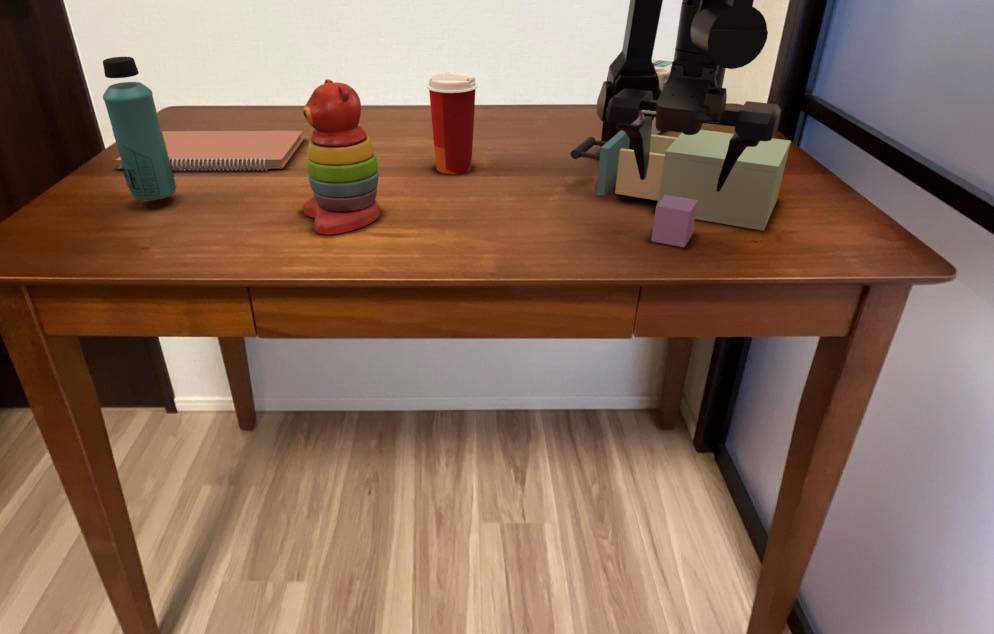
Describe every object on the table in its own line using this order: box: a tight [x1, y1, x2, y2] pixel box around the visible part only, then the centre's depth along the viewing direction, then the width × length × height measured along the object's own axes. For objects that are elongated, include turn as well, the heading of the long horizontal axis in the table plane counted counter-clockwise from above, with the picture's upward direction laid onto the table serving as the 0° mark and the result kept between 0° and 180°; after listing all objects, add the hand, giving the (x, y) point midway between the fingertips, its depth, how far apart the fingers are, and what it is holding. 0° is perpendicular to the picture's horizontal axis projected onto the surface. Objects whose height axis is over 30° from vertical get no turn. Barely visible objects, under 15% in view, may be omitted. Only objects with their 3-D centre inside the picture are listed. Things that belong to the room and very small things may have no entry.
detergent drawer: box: [570, 130, 678, 202], centre depth 102 cm, size 18×10×7 cm, turn 62°
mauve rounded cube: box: [650, 195, 698, 248], centre depth 90 cm, size 4×4×5 cm
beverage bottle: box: [102, 56, 178, 202], centre depth 99 cm, size 6×7×20 cm
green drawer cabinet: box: [657, 129, 792, 232], centre depth 98 cm, size 14×12×9 cm
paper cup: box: [426, 72, 479, 175], centre depth 111 cm, size 8×8×14 cm
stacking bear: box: [302, 78, 381, 235], centre depth 94 cm, size 11×10×18 cm
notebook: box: [114, 130, 305, 172], centre depth 122 cm, size 27×17×2 cm, turn 88°
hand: (680, 184), depth 88 cm, fingers open, 9 cm apart
